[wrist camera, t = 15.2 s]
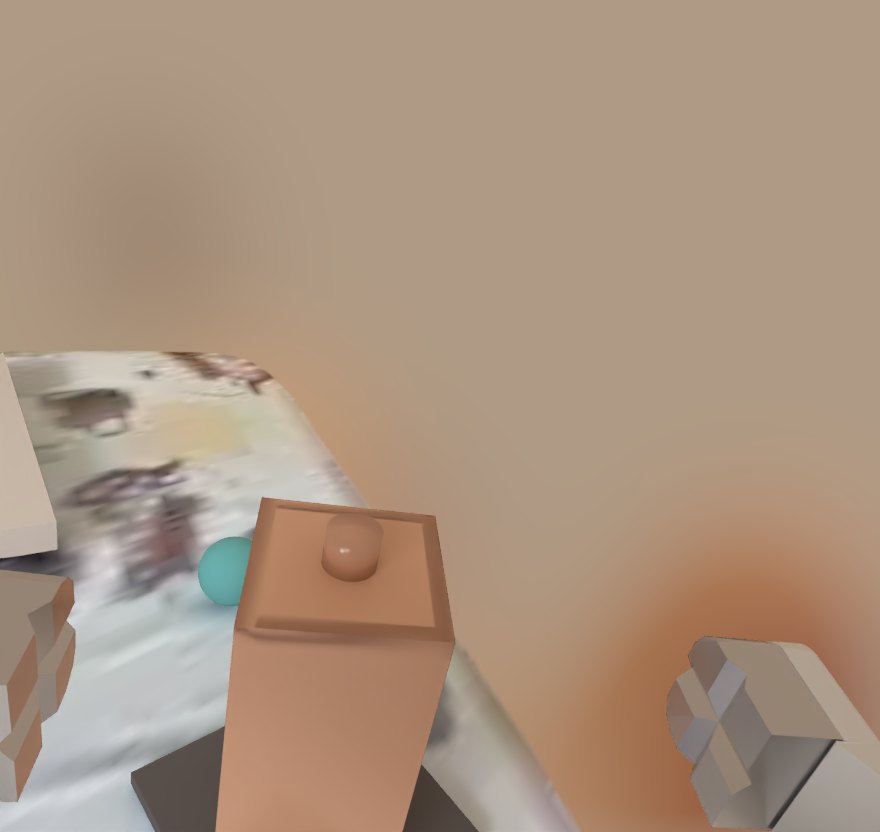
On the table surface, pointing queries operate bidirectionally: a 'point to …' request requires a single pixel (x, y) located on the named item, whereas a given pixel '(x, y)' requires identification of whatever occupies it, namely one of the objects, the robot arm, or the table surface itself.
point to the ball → (225, 570)
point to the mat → (198, 780)
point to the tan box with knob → (333, 669)
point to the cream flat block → (21, 482)
